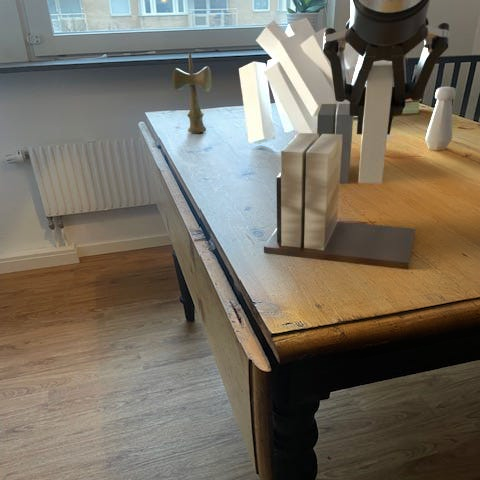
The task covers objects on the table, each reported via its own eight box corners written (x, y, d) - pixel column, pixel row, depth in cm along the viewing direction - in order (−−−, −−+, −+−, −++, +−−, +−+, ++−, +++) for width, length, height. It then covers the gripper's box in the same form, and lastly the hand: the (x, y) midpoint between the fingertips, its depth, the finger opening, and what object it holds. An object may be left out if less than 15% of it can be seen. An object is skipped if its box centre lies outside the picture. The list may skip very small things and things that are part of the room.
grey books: (349, 168, 108) (354, 103, 100) (348, 183, 100) (353, 114, 92) (319, 167, 109) (321, 103, 102) (315, 183, 101) (317, 114, 94)
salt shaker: (453, 146, 117) (464, 85, 110) (446, 152, 113) (457, 90, 106) (427, 143, 120) (436, 84, 113) (420, 149, 116) (429, 89, 109)
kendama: (211, 135, 138) (205, 53, 127) (177, 135, 140) (168, 54, 129) (216, 129, 143) (210, 50, 132) (183, 129, 144) (175, 51, 133)
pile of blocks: (387, 148, 137) (353, 16, 132) (410, 129, 108) (368, -42, 103) (266, 189, 143) (229, 64, 138) (256, 181, 114) (209, 22, 109)
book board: (414, 234, 79) (429, 135, 70) (407, 269, 69) (424, 160, 61) (285, 222, 85) (285, 130, 77) (263, 252, 76) (260, 152, 68)
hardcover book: (338, 111, 155) (339, 96, 152) (405, 106, 155) (406, 91, 153) (348, 119, 145) (349, 104, 142) (419, 114, 145) (421, 98, 143)
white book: (380, 161, 74) (391, 54, 66) (381, 183, 66) (394, 65, 58) (359, 161, 74) (368, 55, 67) (358, 183, 66) (368, 65, 58)
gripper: (303, 22, 48) (313, 149, 71) (482, 14, 45) (433, 150, 68) (310, -44, 50) (317, 102, 72) (484, -56, 46) (435, 100, 69)
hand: (373, 125), depth 70 cm, fingers closed on white book, 3 cm apart
